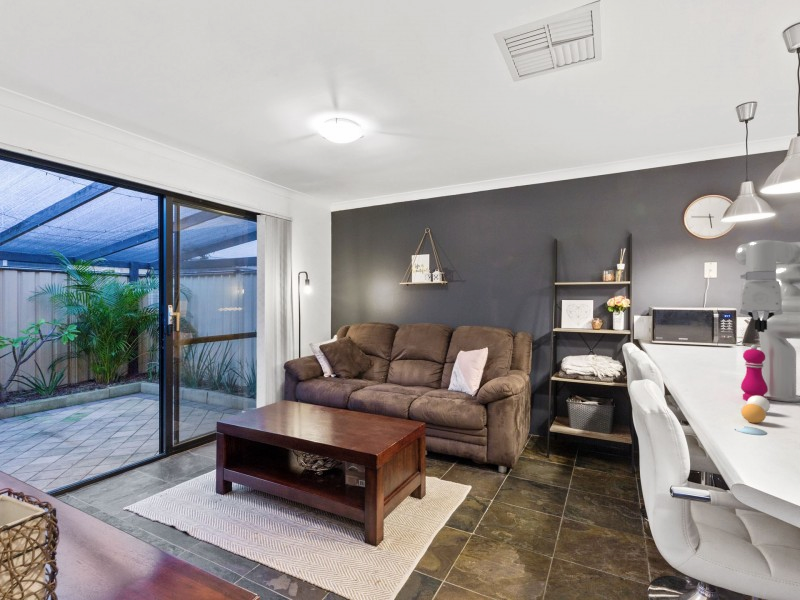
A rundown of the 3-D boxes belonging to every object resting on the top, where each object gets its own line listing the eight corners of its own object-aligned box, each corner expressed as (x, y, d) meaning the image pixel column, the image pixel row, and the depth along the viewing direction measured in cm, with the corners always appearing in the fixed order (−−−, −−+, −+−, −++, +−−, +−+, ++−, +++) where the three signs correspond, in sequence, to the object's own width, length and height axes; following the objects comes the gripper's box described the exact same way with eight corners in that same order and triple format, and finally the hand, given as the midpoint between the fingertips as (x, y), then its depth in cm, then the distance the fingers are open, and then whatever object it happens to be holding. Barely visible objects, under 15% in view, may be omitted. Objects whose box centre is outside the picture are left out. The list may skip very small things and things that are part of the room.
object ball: (745, 418, 123) (745, 400, 123) (768, 423, 118) (768, 404, 118) (738, 421, 120) (738, 403, 120) (761, 426, 115) (761, 407, 115)
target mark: (738, 425, 117) (738, 424, 117) (770, 431, 111) (770, 431, 111) (728, 429, 114) (728, 428, 114) (760, 436, 108) (760, 435, 108)
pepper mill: (773, 402, 140) (773, 345, 140) (752, 403, 140) (752, 346, 140) (755, 397, 147) (755, 343, 147) (735, 397, 148) (735, 343, 147)
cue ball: (751, 409, 133) (750, 392, 133) (772, 413, 128) (772, 396, 128) (744, 412, 130) (744, 395, 130) (766, 416, 125) (766, 398, 125)
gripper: (730, 277, 137) (730, 331, 138) (791, 276, 127) (791, 334, 127) (733, 278, 143) (733, 330, 143) (792, 276, 132) (792, 332, 132)
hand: (760, 331), depth 135 cm, fingers closed
